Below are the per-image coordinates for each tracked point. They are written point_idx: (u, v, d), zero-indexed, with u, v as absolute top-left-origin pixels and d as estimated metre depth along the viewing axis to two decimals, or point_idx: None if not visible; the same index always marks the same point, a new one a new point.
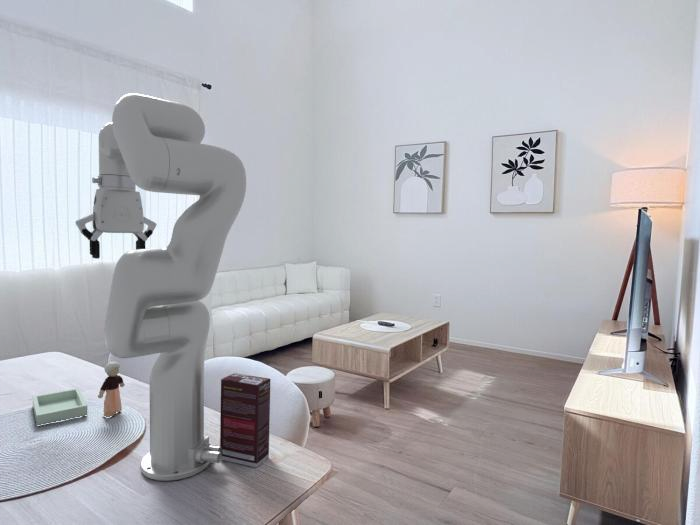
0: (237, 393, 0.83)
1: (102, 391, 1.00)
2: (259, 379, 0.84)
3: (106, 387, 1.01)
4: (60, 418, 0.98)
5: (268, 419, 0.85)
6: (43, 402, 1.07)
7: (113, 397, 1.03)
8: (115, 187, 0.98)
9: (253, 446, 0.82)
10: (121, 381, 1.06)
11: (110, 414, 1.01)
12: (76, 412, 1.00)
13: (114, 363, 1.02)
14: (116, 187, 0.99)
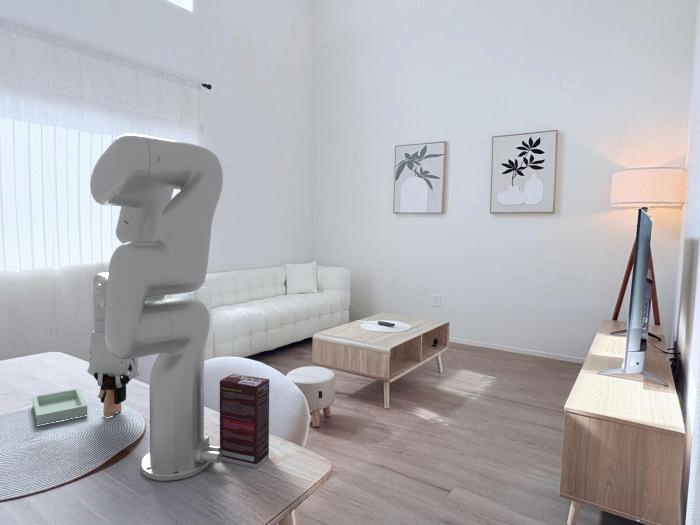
0: (236, 394, 0.82)
1: (102, 391, 1.00)
2: (258, 380, 0.84)
3: (106, 387, 1.00)
4: (60, 418, 0.98)
5: (267, 419, 0.85)
6: (43, 402, 1.07)
7: (113, 397, 1.03)
8: None
9: (253, 447, 0.82)
10: None
11: (110, 414, 1.01)
12: (76, 412, 1.00)
13: None
14: None
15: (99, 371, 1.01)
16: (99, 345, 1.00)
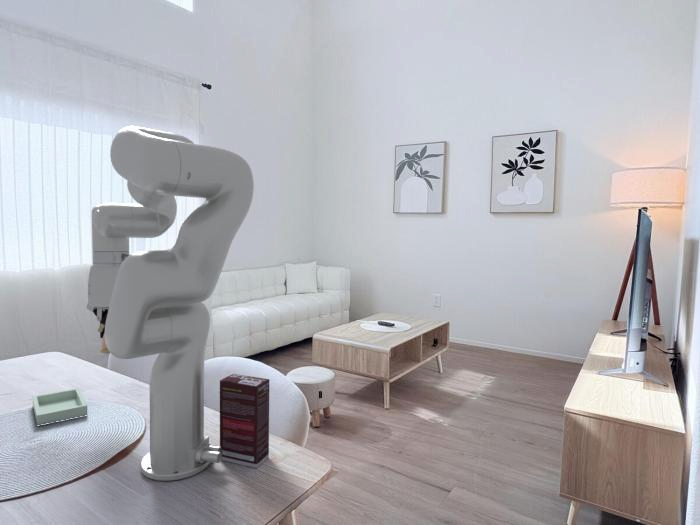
0: (236, 394, 0.82)
1: (102, 325, 0.99)
2: (258, 380, 0.84)
3: None
4: (60, 418, 0.98)
5: (267, 419, 0.85)
6: (43, 402, 1.07)
7: None
8: None
9: (253, 447, 0.82)
10: None
11: None
12: (76, 412, 1.00)
13: None
14: None
15: (98, 305, 1.00)
16: (98, 278, 0.99)
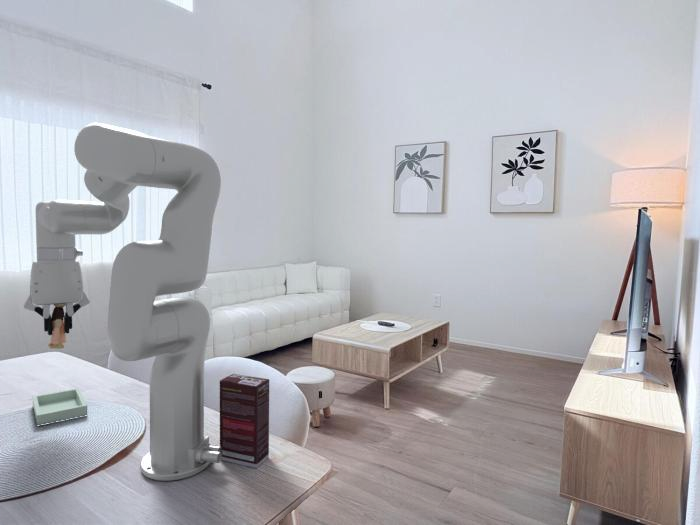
0: (236, 394, 0.82)
1: (60, 320, 1.00)
2: (258, 380, 0.84)
3: (62, 317, 1.01)
4: (60, 418, 0.98)
5: (267, 419, 0.85)
6: (43, 402, 1.07)
7: (60, 328, 1.02)
8: None
9: (253, 447, 0.82)
10: None
11: (62, 344, 1.02)
12: (76, 412, 1.00)
13: None
14: None
15: (48, 302, 0.99)
16: (51, 275, 0.99)
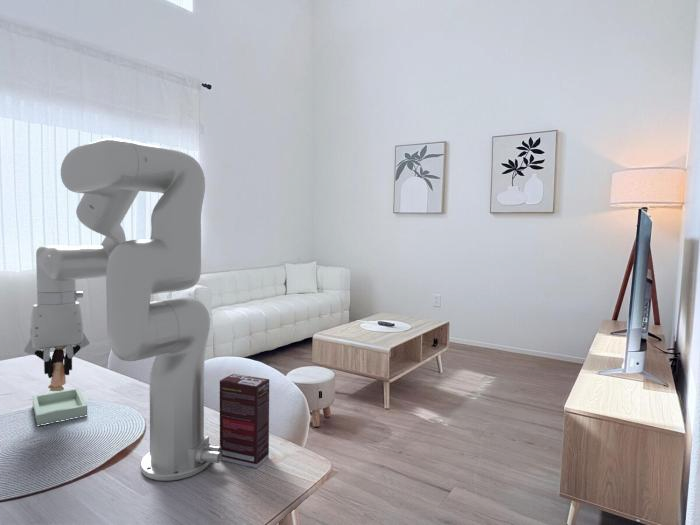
0: (236, 394, 0.82)
1: (60, 364, 1.01)
2: (258, 380, 0.84)
3: (62, 359, 1.02)
4: (60, 418, 0.98)
5: (267, 419, 0.85)
6: (43, 402, 1.07)
7: (60, 370, 1.03)
8: None
9: (253, 447, 0.82)
10: None
11: (61, 386, 1.02)
12: (76, 412, 1.00)
13: None
14: None
15: (48, 346, 1.00)
16: (51, 319, 1.00)
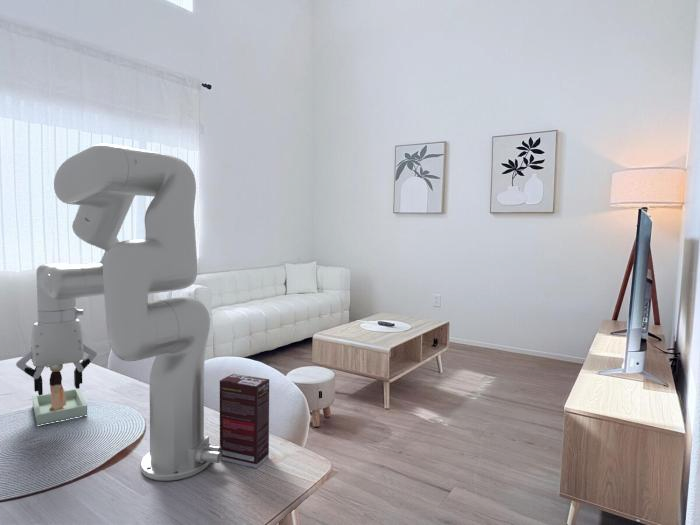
0: (236, 394, 0.82)
1: (59, 386, 1.01)
2: (258, 380, 0.84)
3: (60, 381, 1.01)
4: (60, 418, 0.98)
5: (267, 419, 0.85)
6: (43, 402, 1.07)
7: (59, 392, 1.03)
8: None
9: (253, 447, 0.82)
10: None
11: (62, 408, 1.03)
12: (76, 412, 1.00)
13: None
14: None
15: (49, 364, 1.00)
16: (52, 337, 1.00)
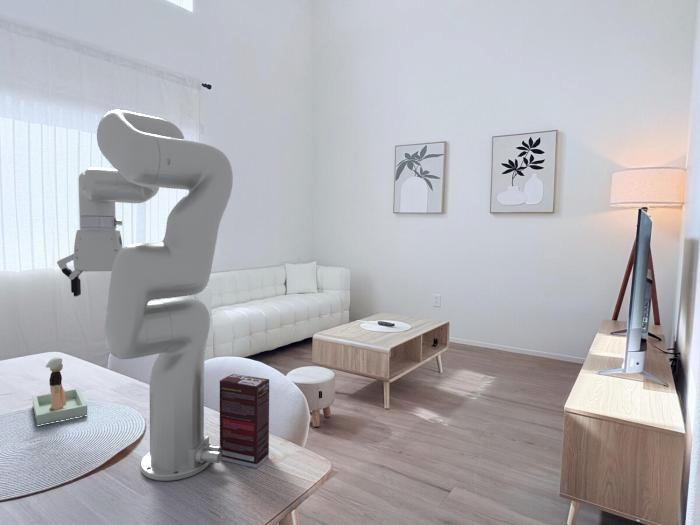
0: (236, 394, 0.82)
1: (59, 386, 1.01)
2: (258, 380, 0.84)
3: (60, 382, 1.01)
4: (60, 418, 0.98)
5: (267, 419, 0.85)
6: (43, 402, 1.07)
7: (59, 392, 1.03)
8: None
9: (253, 447, 0.82)
10: None
11: (62, 408, 1.03)
12: (76, 412, 1.00)
13: (60, 358, 1.03)
14: None
15: (88, 269, 1.03)
16: (89, 242, 1.03)
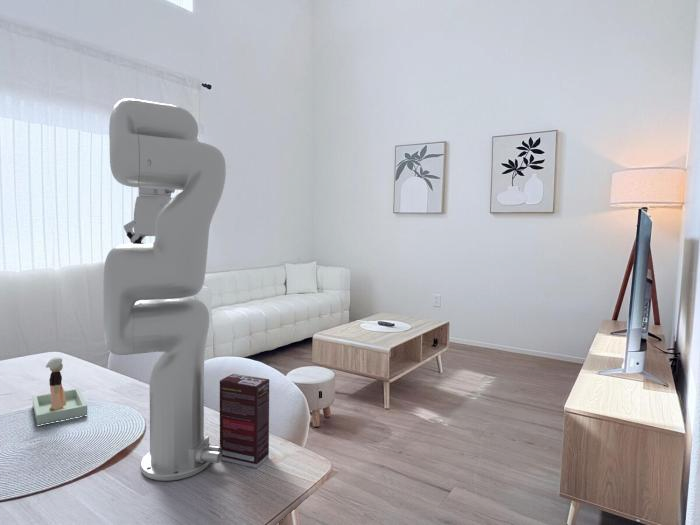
0: (236, 394, 0.82)
1: (59, 386, 1.01)
2: (258, 380, 0.84)
3: (60, 382, 1.01)
4: (60, 418, 0.98)
5: (267, 419, 0.85)
6: (43, 402, 1.07)
7: (59, 392, 1.03)
8: None
9: (253, 447, 0.82)
10: None
11: (62, 408, 1.03)
12: (76, 412, 1.00)
13: (60, 358, 1.03)
14: None
15: (143, 233, 1.10)
16: (144, 208, 1.09)
